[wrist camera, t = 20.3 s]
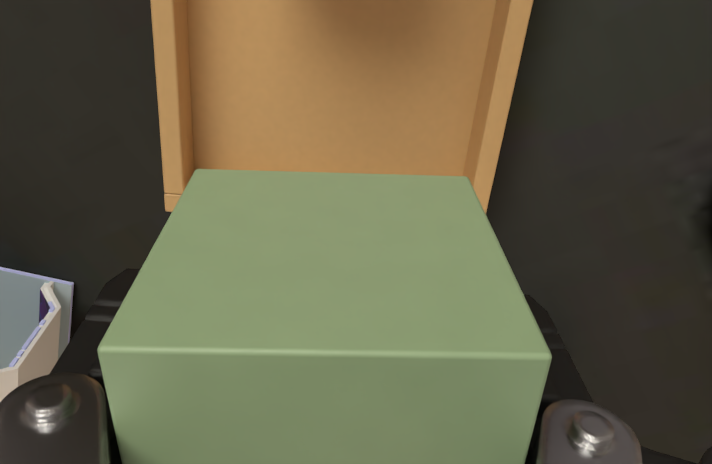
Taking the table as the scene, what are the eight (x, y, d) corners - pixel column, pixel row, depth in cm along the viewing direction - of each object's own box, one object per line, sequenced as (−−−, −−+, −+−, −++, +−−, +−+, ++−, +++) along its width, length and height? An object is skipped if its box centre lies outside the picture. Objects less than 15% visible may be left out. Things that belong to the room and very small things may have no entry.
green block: (194, 167, 11) (93, 349, 6) (468, 174, 11) (555, 355, 6) (215, 376, 13) (152, 612, 9) (439, 379, 13) (488, 612, 9)
